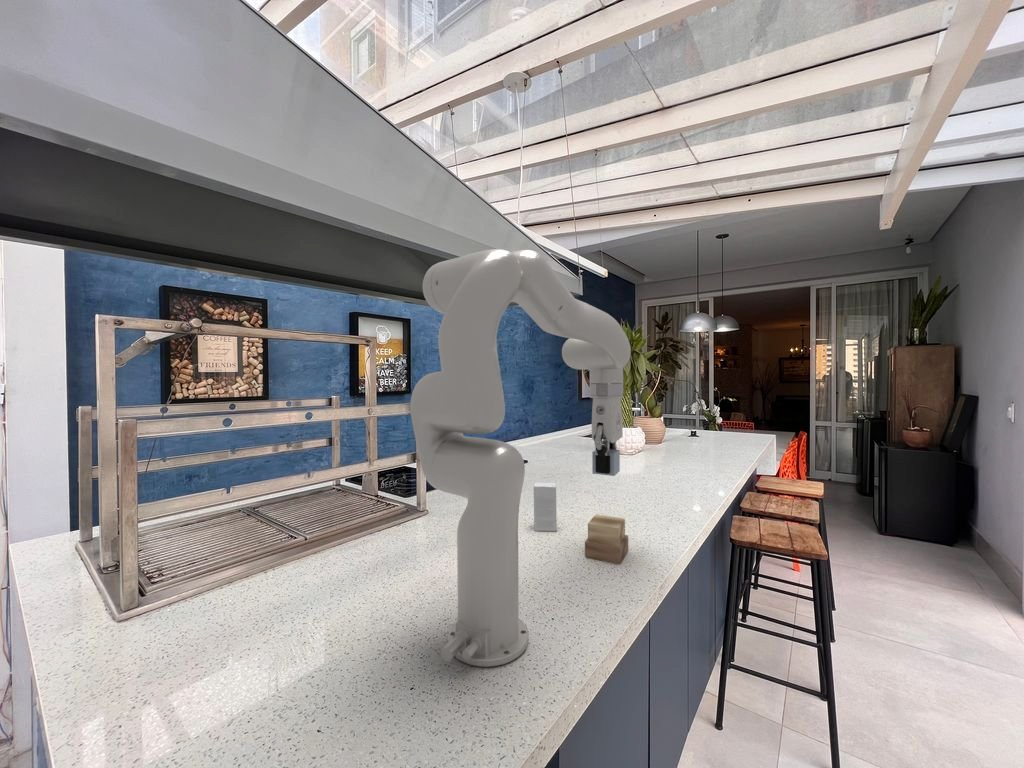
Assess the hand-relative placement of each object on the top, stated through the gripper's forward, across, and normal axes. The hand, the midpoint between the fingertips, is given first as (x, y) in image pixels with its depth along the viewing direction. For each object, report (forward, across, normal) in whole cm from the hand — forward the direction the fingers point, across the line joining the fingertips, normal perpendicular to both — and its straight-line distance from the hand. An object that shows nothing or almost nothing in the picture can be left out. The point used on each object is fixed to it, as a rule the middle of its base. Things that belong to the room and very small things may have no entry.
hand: (606, 469), depth 97 cm
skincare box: (+20, +8, +19) cm, 29 cm away
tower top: (+16, 0, 0) cm, 16 cm away
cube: (+1, 0, 0) cm, 1 cm away
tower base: (+20, 0, 0) cm, 20 cm away
